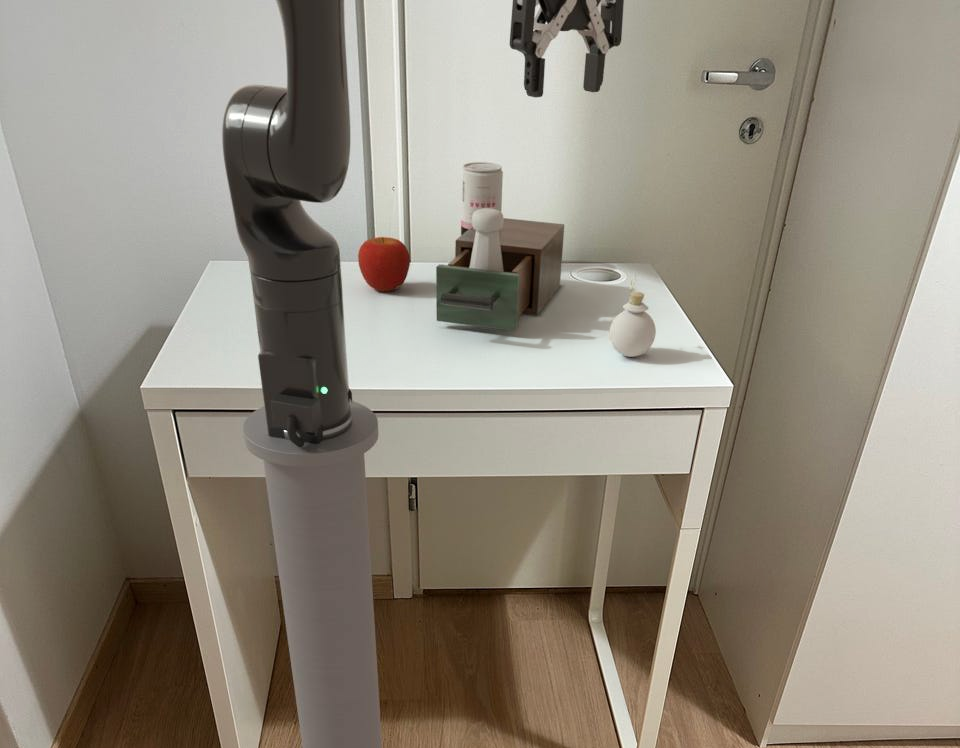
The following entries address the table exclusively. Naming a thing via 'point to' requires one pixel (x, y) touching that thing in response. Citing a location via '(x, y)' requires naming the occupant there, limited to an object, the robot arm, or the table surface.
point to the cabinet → (532, 241)
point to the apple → (384, 263)
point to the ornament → (633, 327)
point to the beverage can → (480, 190)
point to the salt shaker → (487, 240)
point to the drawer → (485, 291)
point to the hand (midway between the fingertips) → (563, 93)
